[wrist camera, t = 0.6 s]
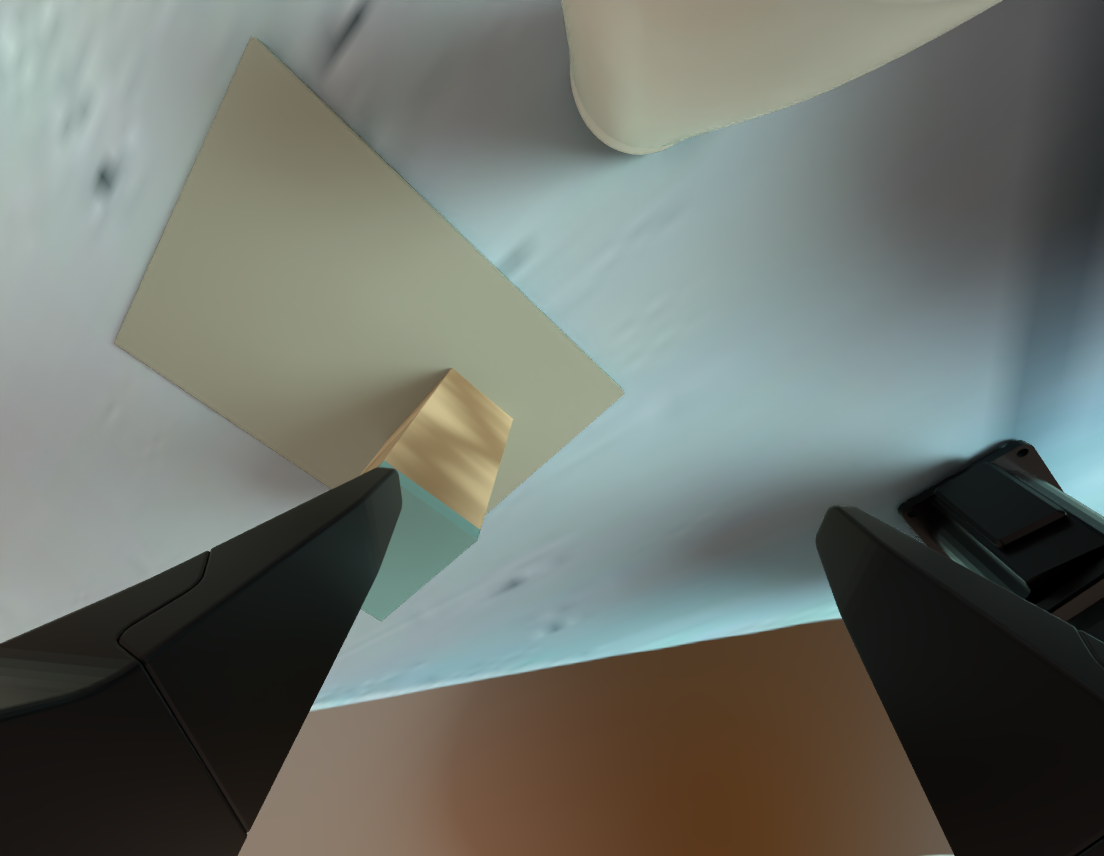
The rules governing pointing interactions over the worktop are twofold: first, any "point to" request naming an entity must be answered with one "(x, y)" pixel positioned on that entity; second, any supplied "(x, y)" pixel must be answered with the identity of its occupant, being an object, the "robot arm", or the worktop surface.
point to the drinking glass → (730, 58)
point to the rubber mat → (339, 296)
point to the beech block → (438, 486)
